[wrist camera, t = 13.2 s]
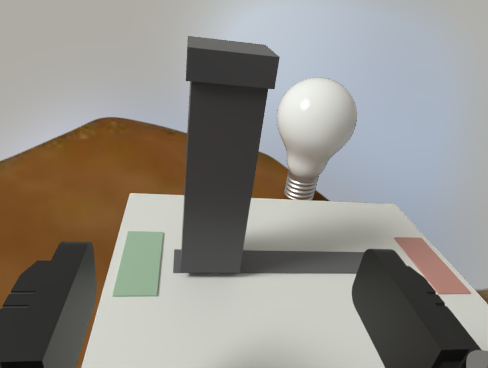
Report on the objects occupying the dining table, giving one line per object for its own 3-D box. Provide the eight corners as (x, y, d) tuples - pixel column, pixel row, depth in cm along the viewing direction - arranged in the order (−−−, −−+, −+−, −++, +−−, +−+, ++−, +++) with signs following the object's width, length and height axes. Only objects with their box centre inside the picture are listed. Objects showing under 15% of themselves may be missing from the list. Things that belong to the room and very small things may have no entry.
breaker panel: (383, 234, 30) (395, 202, 29) (515, 407, 18) (548, 367, 16) (130, 228, 26) (129, 192, 25) (82, 438, 14) (74, 390, 13)
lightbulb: (345, 217, 32) (383, 91, 26) (278, 222, 30) (305, 87, 24) (312, 182, 37) (339, 71, 32) (253, 184, 35) (272, 66, 30)
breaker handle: (237, 239, 21) (265, 45, 16) (243, 275, 19) (279, 57, 14) (178, 238, 21) (187, 36, 16) (176, 275, 18) (187, 46, 13)
